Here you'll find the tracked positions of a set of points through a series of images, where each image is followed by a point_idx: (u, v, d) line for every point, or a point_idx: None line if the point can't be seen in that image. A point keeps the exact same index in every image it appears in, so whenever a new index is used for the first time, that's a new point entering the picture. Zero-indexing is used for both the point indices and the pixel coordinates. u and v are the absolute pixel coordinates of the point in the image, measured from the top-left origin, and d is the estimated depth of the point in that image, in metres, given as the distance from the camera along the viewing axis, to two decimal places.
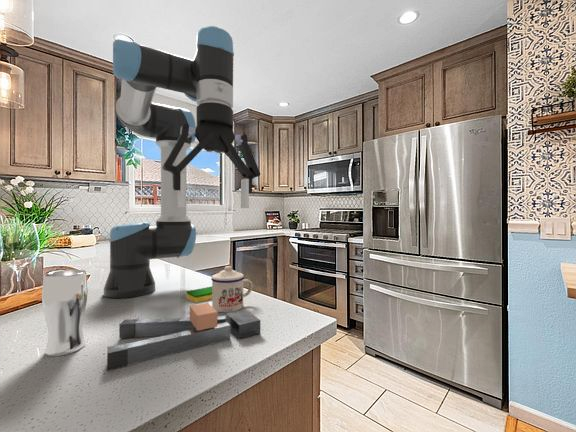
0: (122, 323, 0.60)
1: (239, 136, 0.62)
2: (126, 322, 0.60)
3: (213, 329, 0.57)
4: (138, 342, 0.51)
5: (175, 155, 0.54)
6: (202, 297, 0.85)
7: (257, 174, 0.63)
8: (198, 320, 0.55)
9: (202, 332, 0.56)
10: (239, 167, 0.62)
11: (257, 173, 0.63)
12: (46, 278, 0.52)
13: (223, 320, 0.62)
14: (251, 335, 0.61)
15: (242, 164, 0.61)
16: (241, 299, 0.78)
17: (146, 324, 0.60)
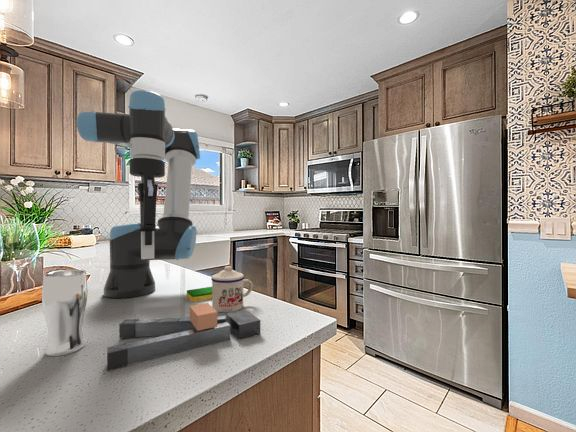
0: (122, 323, 0.60)
1: (147, 187, 0.62)
2: (126, 322, 0.60)
3: (213, 329, 0.57)
4: (138, 342, 0.51)
5: (140, 215, 0.69)
6: (199, 297, 0.85)
7: None
8: (198, 320, 0.55)
9: (202, 332, 0.56)
10: None
11: (142, 225, 0.63)
12: (46, 278, 0.52)
13: (223, 320, 0.62)
14: (251, 335, 0.61)
15: (142, 215, 0.65)
16: (241, 299, 0.78)
17: (146, 324, 0.60)
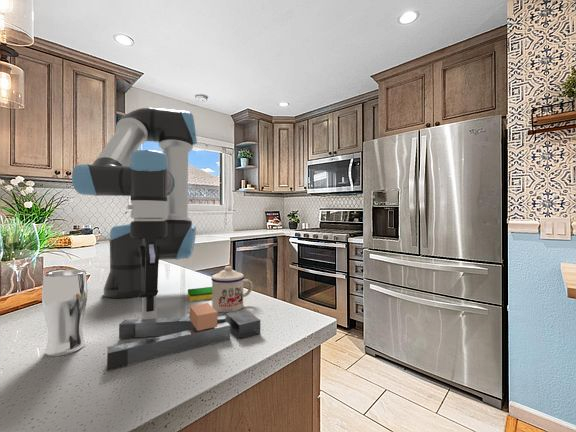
0: (121, 323, 0.60)
1: (149, 253, 0.59)
2: (125, 322, 0.60)
3: (213, 329, 0.57)
4: (138, 342, 0.51)
5: (141, 276, 0.65)
6: (197, 296, 0.85)
7: None
8: (198, 320, 0.55)
9: (202, 332, 0.56)
10: None
11: (144, 293, 0.60)
12: (46, 278, 0.52)
13: (223, 320, 0.62)
14: (251, 335, 0.61)
15: (143, 280, 0.61)
16: (241, 299, 0.78)
17: (146, 324, 0.60)
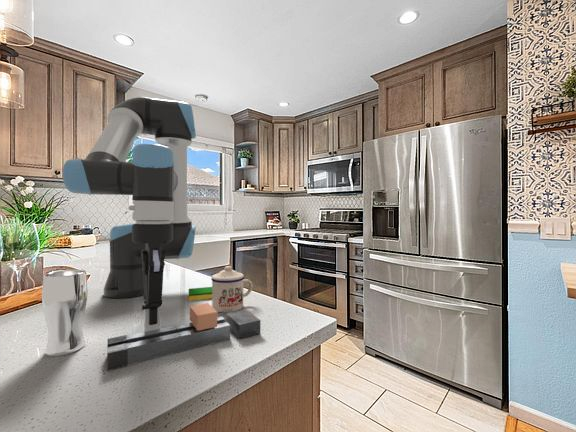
0: (109, 342, 0.51)
1: (153, 260, 0.52)
2: (114, 341, 0.51)
3: (213, 329, 0.57)
4: (138, 342, 0.51)
5: (144, 284, 0.59)
6: (196, 296, 0.86)
7: None
8: (198, 320, 0.55)
9: (202, 332, 0.56)
10: None
11: (146, 304, 0.53)
12: (46, 278, 0.52)
13: (223, 320, 0.62)
14: (251, 335, 0.61)
15: (146, 290, 0.55)
16: (241, 299, 0.78)
17: (140, 338, 0.53)
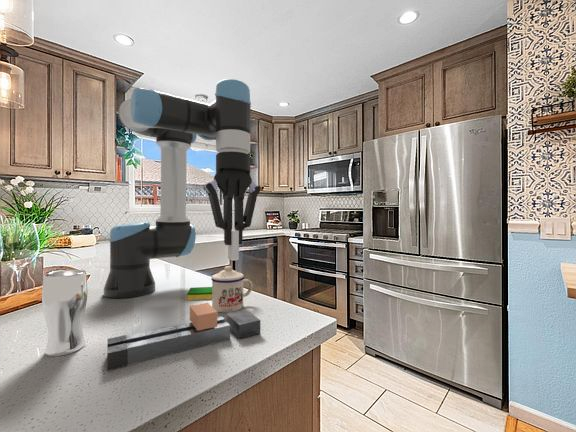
0: (109, 342, 0.51)
1: None
2: (114, 341, 0.51)
3: (213, 329, 0.57)
4: (138, 342, 0.51)
5: None
6: (194, 296, 0.86)
7: None
8: (198, 320, 0.55)
9: (202, 332, 0.56)
10: None
11: None
12: (46, 278, 0.52)
13: (223, 320, 0.62)
14: (251, 335, 0.61)
15: None
16: (241, 299, 0.78)
17: (140, 338, 0.53)
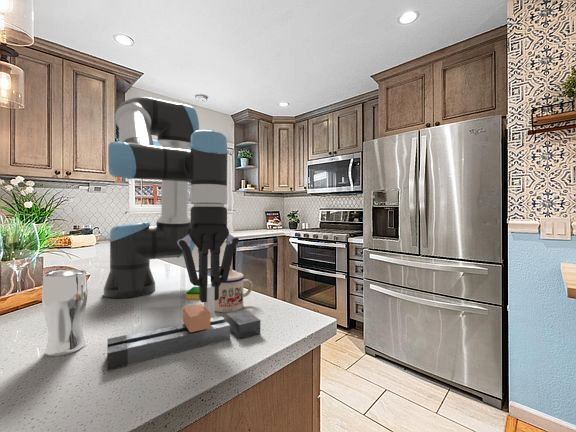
0: (109, 342, 0.51)
1: None
2: (114, 341, 0.51)
3: (213, 329, 0.57)
4: (138, 342, 0.51)
5: None
6: (193, 295, 0.87)
7: None
8: (191, 322, 0.54)
9: (202, 332, 0.56)
10: None
11: None
12: (46, 278, 0.52)
13: (223, 320, 0.62)
14: (251, 335, 0.61)
15: None
16: (241, 299, 0.78)
17: (140, 338, 0.53)
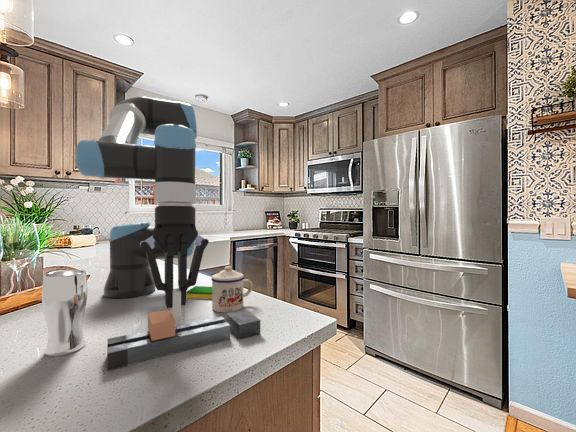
0: (109, 342, 0.51)
1: None
2: (114, 341, 0.51)
3: (213, 329, 0.57)
4: (138, 342, 0.51)
5: None
6: (192, 294, 0.87)
7: None
8: (152, 329, 0.51)
9: (202, 332, 0.56)
10: None
11: None
12: (46, 278, 0.52)
13: (223, 320, 0.62)
14: (251, 335, 0.61)
15: None
16: (241, 299, 0.78)
17: (140, 338, 0.53)
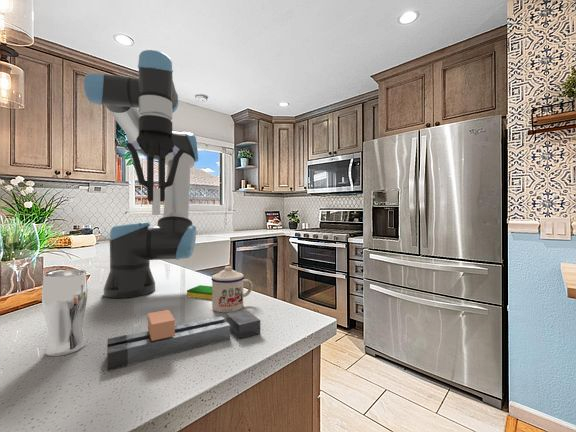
0: (109, 342, 0.51)
1: None
2: (114, 341, 0.51)
3: (213, 329, 0.57)
4: (138, 342, 0.51)
5: None
6: (192, 293, 0.89)
7: None
8: (152, 329, 0.51)
9: (202, 332, 0.56)
10: None
11: None
12: (46, 278, 0.52)
13: (223, 320, 0.62)
14: (251, 335, 0.61)
15: None
16: (241, 299, 0.78)
17: (140, 338, 0.53)
